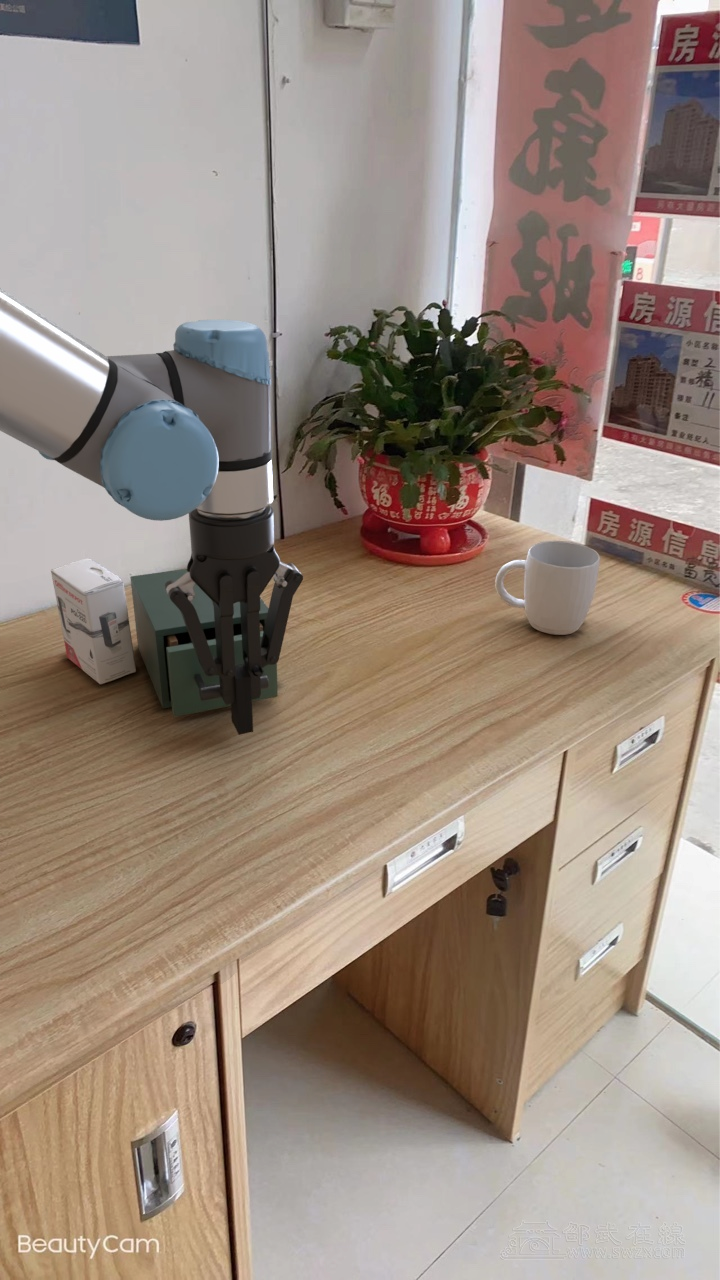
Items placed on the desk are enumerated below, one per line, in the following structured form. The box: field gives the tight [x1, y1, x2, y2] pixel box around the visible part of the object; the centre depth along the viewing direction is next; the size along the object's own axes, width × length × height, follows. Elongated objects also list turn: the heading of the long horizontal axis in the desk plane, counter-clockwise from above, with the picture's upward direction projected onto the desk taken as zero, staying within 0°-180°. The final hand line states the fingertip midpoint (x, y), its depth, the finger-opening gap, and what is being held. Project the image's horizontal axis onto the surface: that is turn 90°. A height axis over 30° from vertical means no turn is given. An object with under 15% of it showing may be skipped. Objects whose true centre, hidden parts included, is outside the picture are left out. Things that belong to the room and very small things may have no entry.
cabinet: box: [129, 568, 269, 709], centre depth 102 cm, size 15×13×10 cm
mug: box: [494, 540, 601, 636], centre depth 114 cm, size 13×9×10 cm
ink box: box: [50, 558, 137, 685], centre depth 101 cm, size 9×5×12 cm, turn 43°
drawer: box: [163, 623, 279, 718], centre depth 97 cm, size 18×11×8 cm, turn 23°
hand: (242, 726), depth 90 cm, fingers closed
